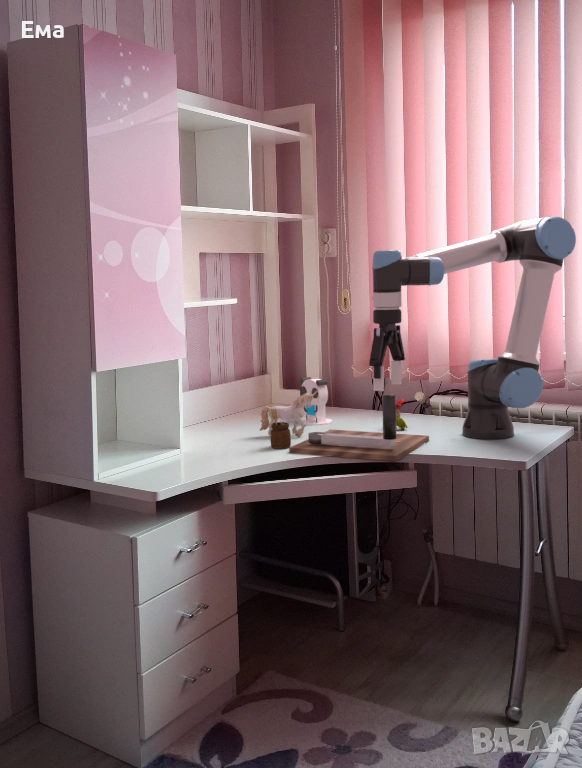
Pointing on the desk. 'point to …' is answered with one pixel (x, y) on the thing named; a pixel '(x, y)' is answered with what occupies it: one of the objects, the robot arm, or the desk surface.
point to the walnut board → (401, 449)
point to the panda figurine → (315, 401)
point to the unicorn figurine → (288, 413)
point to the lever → (361, 440)
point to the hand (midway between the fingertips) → (387, 387)
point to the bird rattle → (399, 421)
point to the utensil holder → (280, 433)
